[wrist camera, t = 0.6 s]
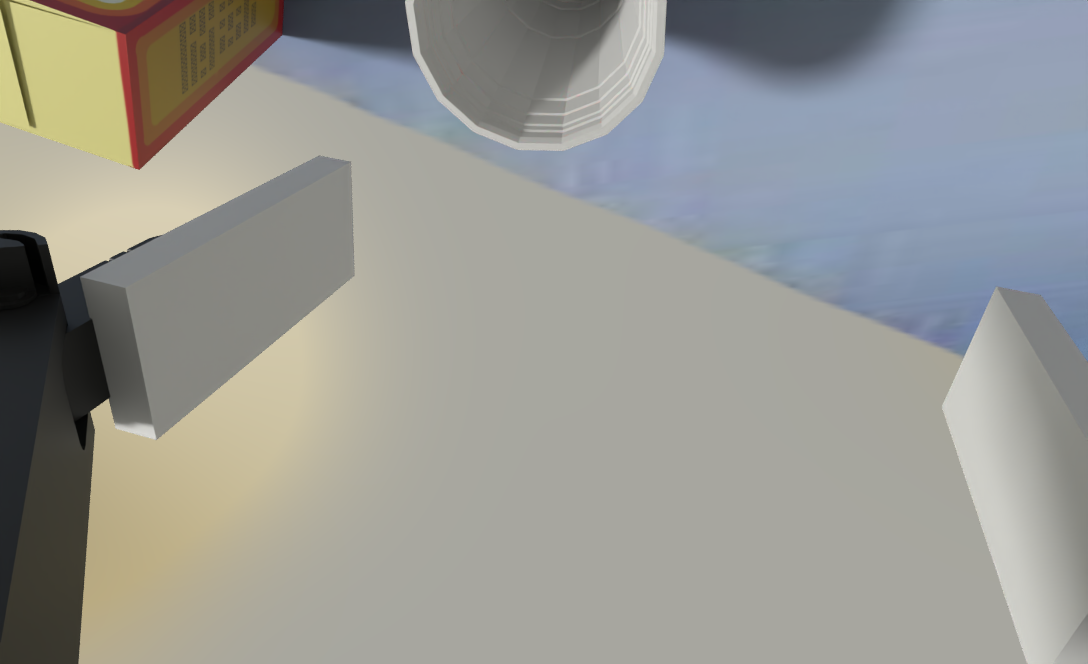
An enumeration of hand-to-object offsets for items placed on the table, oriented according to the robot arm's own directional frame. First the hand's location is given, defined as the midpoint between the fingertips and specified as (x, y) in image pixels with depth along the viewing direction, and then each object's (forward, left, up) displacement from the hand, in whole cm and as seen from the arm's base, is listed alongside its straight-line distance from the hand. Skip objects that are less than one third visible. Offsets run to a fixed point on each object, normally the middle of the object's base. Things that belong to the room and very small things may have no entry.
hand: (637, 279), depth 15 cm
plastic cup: (0, -6, -30) cm, 31 cm away
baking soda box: (-7, -26, -30) cm, 40 cm away
